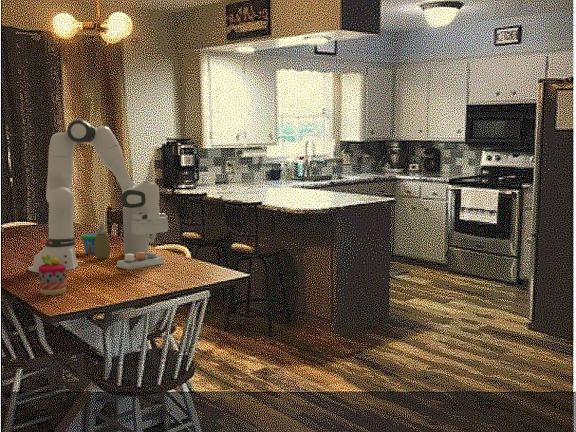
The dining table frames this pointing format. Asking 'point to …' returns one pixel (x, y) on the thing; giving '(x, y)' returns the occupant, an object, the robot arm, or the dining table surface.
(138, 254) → the terracotta button
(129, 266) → the panel
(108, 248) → the squeeze bottle
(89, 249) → the snack cup
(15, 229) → the dining table surface
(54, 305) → the dining table surface
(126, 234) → the cylinder vase
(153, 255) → the slate button
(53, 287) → the cake
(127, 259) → the ivory button
